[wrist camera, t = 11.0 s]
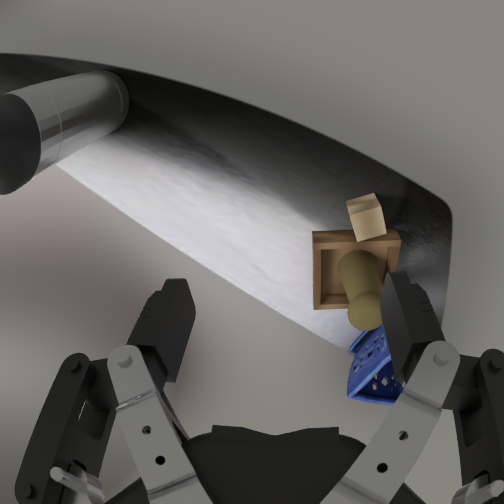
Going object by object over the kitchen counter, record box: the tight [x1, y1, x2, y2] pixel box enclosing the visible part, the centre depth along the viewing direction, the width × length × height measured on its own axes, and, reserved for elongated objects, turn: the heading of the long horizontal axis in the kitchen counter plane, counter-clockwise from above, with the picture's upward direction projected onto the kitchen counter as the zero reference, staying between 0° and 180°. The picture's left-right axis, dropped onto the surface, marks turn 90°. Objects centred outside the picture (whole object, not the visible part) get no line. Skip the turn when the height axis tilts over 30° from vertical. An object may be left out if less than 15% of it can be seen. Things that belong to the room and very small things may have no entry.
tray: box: [312, 229, 401, 310], centre depth 43 cm, size 12×12×3 cm
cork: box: [338, 250, 383, 331], centre depth 39 cm, size 6×6×11 cm
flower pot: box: [347, 324, 406, 405], centre depth 47 cm, size 13×13×12 cm
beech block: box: [345, 193, 387, 242], centre depth 38 cm, size 4×4×4 cm
